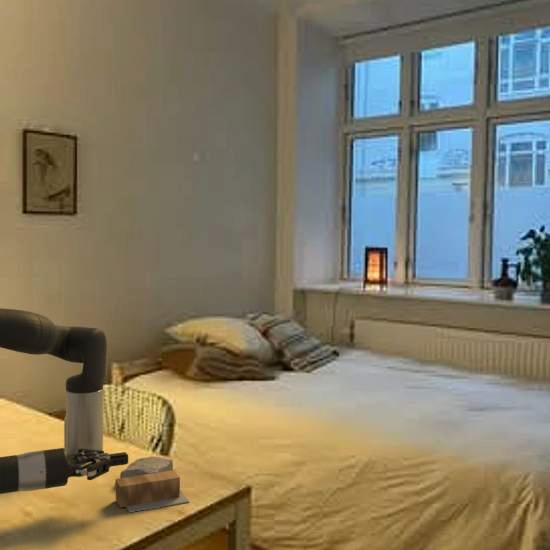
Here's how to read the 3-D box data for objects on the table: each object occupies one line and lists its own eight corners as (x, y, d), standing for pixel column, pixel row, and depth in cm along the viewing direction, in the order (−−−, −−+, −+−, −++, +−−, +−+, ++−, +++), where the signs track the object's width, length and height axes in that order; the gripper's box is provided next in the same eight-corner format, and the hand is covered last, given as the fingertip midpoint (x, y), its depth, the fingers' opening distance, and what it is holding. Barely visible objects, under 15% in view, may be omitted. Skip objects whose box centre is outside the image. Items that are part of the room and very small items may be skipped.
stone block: (117, 493, 145) (158, 488, 143) (114, 472, 145) (154, 467, 143) (139, 476, 157) (177, 471, 155) (136, 457, 157) (173, 452, 155)
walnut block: (120, 486, 133) (179, 477, 139) (115, 479, 137) (173, 470, 143) (120, 507, 134) (179, 497, 139) (115, 499, 138) (173, 489, 144)
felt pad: (129, 513, 132) (129, 511, 132) (118, 494, 141) (118, 493, 141) (189, 502, 138) (189, 501, 138) (175, 485, 147) (175, 484, 147)
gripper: (45, 462, 122) (135, 450, 130) (38, 441, 134) (120, 431, 142) (45, 500, 123) (135, 486, 130) (38, 476, 134) (120, 464, 142)
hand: (127, 457), depth 136 cm, fingers closed
